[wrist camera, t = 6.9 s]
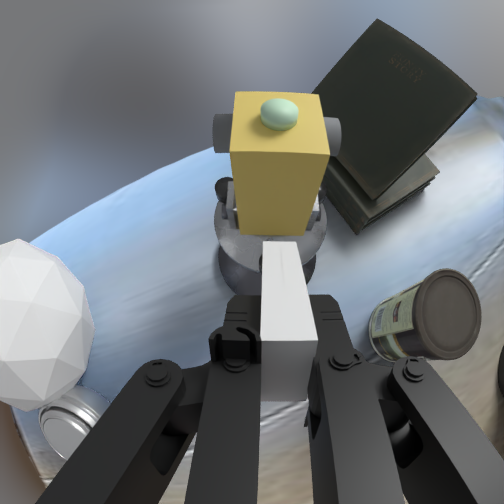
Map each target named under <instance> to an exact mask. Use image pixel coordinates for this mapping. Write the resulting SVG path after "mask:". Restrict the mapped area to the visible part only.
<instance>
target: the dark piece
mask: <svg viewBox="0 0 504 504" xmlns="http://www.w3.org/2000/svg"><path fill="white" fill-rule="evenodd" d="M311 94H318V95H319V99H320V104H321V108H322V113H323V117H330V118H338V119H339V121H340V125H341V146H340V150H339V153H338V155H337V156H330V157H329V160H328V163H327V167H326V170H325V173H324V176H323V179H322V182H324V183H325V185H326V187H327V193H326V196H327V198H328V199H329V200H330V201H331V203H332V204H333V205H334V206H335V208H336V209H337V210H338V212H339V213H340V214H341V216H342V217H343V218H344V219H345V221H346V222H347V223H348V225H349V226H350V227H351V229H352V230H353V232H354V233H355V234H356V235H358V234H359V232H360V231H361V230H363V229H364V228H366V227H367V226H369V225H371V224H372V223H374V222H375V221H377V220H378V219H380V218H381V217H383V216H384V215H386V214H387V213H389V212H390V211H392V210H393V209H395V208H396V207H398V206H399V205H401V204H402V203H404V202H405V201H407V200H408V199H410V198H411V197H412V196H414V195H415V194H417V193H418V192H420V191H421V190H423V189H424V188H426V187H427V186H428V185H430V184H431V183H430V182H431V181H432V180H434V179H435V178H436V177H435V175H437V174H438V173H440V171H439V170H438V169H437V168H436V166H435V165H434V164H433V163H432V162H431V161H430V159H429V158H428V157H427V156H426V155H425V153H426V152H427V151H428V150H429V149H430V148H431V147H432V146H433V145H434V144H435V143H436V142H437V141H438V140H439V139H440V138H441V137H442V136H443V135H444V134H445V133H446V132H447V130H448V129H449V128H450V127H451V126H452V125H453V124H454V123H455V122H456V121H457V120H458V119H459V118H460V117H461V116H462V115H463V114H464V113H465V112H466V110H467V109H468V108H469V107H470V106H471V105H472V104H473V103H474V102H475V101H476V100H477V97H476V95H477V93H476V92H475V91H474V90H473V89H472V88H471V87H470V86H469V85H468V84H467V83H465V82H464V81H463V80H462V79H461V78H460V77H459V76H458V75H456V74H455V73H454V72H453V71H452V70H451V69H449V68H448V67H447V66H446V65H444V64H443V63H442V62H441V61H440V60H438V59H437V58H436V57H434V56H433V55H432V54H430V53H429V52H428V51H426V50H425V49H424V48H422V47H421V46H420V45H418V44H417V43H415V42H414V41H412V40H411V39H409V38H408V37H406V36H405V35H403V34H402V33H400V32H399V31H397V30H395V29H394V28H392V27H391V26H389V25H387V24H386V23H384V22H382V21H381V20H379V19H376V20H375V21H374V22H373V23H372V24H371V25H370V26H369V28H368V29H367V30H366V31H365V32H364V33H363V34H362V35H361V36H360V38H359V39H358V40H357V41H356V42H355V43H354V44H353V45H352V46H351V48H350V49H349V50H348V51H347V52H346V53H345V54H344V56H343V57H342V58H341V59H340V60H339V61H338V62H337V64H336V65H335V66H334V67H333V68H332V69H331V71H330V72H329V73H328V74H327V75H326V77H325V78H324V79H323V80H322V81H321V82H320V84H319V85H318V86H317V87H316V88H315V90H314V91H313V92H312V93H311Z"/></svg>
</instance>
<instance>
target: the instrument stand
mask: <svg viewBox="0 0 504 504" xmlns="http://www.w3.org/2000/svg"><path fill="white" fill-rule="evenodd" d="M215 191H216V195H217V198H218V200H219V201H218V203H217V206H216V210H215V215H214V225H215V231H216V234H217V238H218V240H219V243H220V248H219V265H220V269H221V272H222V275H223V277H224V279H225V281H226V283H227V284H228V286H229V287H230V288H231V289H232V290H233V291H234V292H235V293H236V294H237V295H262V262H263V241H283V242H296V244H297V248H298V252H299V256H300V260H301V264H302V269H303V273H304V277H305V282H306V285H307V284H308V282H309V281H310V279H311V277H312V275H313V272H314V269H315V263H316V253H317V251H318V249H319V248H320V246H321V244H322V242H323V240H324V237H325V234H326V229H327V217H326V211H325V208H324V205H323V203H322V202H323V201H324V198H325V196H326V193H327V187H326V185H325V183H324V182H321V185H320V188H319V191H318V194H317V197H316V200H315V203H314V206H313V209H312V212H311V215H310V218H309V221H308V224H307V227H306V230H305V233H304V236H285V235H240V229H239V221H238V214H237V206H236V198H235V191H234V183H233V178H230V177H224V178H221V179H219V180H218V181H217V182H216V184H215Z"/></svg>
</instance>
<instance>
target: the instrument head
mask: <svg viewBox="0 0 504 504" xmlns="http://www.w3.org/2000/svg"><path fill="white" fill-rule="evenodd" d="M213 146H214V151H215V153H230V159H231V167H232V175H233V183H234V191H235V198H236V206H237V214H238V221H239V229H240V235H285V236H304V233H305V230H306V227H307V224H308V221H309V218H310V215H311V212H312V209H313V206H314V203H315V200H316V197H317V194H318V191H319V188H320V185H321V182H322V179H323V176H324V173H325V170H326V167H327V163H328V160H329V157H330V156H337V155H338V153H339V150H340V146H341V125H340V121H339V119H338V118H330V117H323V113H322V108H321V104H320V99H319V95H318V94H305V93H289V92H236V94H235V102H234V112H233V114H215V116H214V120H213Z"/></svg>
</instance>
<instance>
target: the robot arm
mask: <svg viewBox="0 0 504 504" xmlns="http://www.w3.org/2000/svg"><path fill="white" fill-rule="evenodd" d="M208 340H209V347H210V354H211V361H209V362H208V363H206V364H204V365H202V366H198V367H193V368H187V369H181V368H180V367H179V366H178V365H177V364H176V363H174V362H172V361H170V360H164V359H158V360H152V361H150V362H147V363H145V364H143V365H142V366H141V367H140V368H139V369H138V370H137V371H136V372H135V374H134V375H133V376H132V378H131V379H130V380H129V381H128V383H127V384H126V385H125V386H124V388H123V389H122V390H121V392H120V393H119V394H118V395H117V397H116V398H115V399H114V400H113V402H112V403H111V404H110V406H109V407H108V408H107V409H106V411H105V412H104V413H103V415H102V416H101V417H100V418H99V420H98V421H97V422H96V424H95V425H94V426H93V428H92V429H91V430H90V431H89V433H88V434H87V435H86V437H85V438H84V439H83V441H82V442H81V443H80V444H79V446H78V447H77V448H76V450H75V451H74V452H73V454H72V455H71V456H70V458H69V459H68V460H67V462H66V463H65V464H64V466H63V467H62V468H61V470H60V471H59V472H58V474H57V475H56V476H55V478H54V479H53V480H52V482H51V483H50V484H49V486H48V487H47V488H46V490H45V491H44V493H43V494H42V495H41V496H40V498H39V499H38V501H37V502H36V503H35V504H158V503H159V501H160V499H161V497H162V496H163V494H164V492H165V490H166V488H167V487H168V485H169V483H170V481H171V479H172V477H173V475H174V474H175V472H176V470H177V468H178V466H179V464H180V462H181V461H182V459H183V457H184V455H185V453H186V451H187V449H188V447H189V445H190V443H191V442H192V440H193V438H194V436H195V434H196V432H197V437H196V442H195V448H194V453H193V458H192V463H191V469H190V474H189V480H188V485H187V491H186V496H185V502H184V504H257V491H258V465H259V436H260V402H261V401H306V399H307V394H308V399H309V407H308V411H307V415H306V419H305V423H304V427H307V426H308V432H309V443H310V456H311V469H312V483H313V500H314V504H405V502H404V497H403V494H404V496H405V498H406V500H407V501H408V503H409V504H504V460H503V459H502V457H501V456H500V454H499V453H498V452H497V450H496V449H495V447H494V446H493V445H492V443H491V442H490V440H489V439H488V438H487V436H486V435H485V434H484V432H483V431H482V430H481V428H480V427H479V425H478V424H477V423H476V422H475V420H474V419H473V418H472V416H471V415H470V414H469V412H468V411H467V410H466V408H465V407H464V406H463V405H462V403H461V402H460V401H459V400H458V398H457V397H456V396H455V395H454V393H453V392H452V391H451V390H450V388H449V387H448V386H447V385H446V383H445V382H444V381H443V380H442V378H441V377H440V376H439V375H438V374H437V372H436V371H435V370H434V369H433V368H432V366H431V365H430V364H428V363H427V362H426V361H425V360H423V359H420V358H418V357H413V356H407V357H402V358H400V359H399V360H397V361H396V362H395V364H394V366H393V367H389V366H382V365H376V364H372V363H369V362H367V361H366V360H365V358H364V357H363V355H362V354H361V353H360V352H359V351H357V350H356V349H354V348H353V346H352V343H351V340H350V337H349V334H348V331H347V328H346V325H345V322H344V321H343V316H342V313H341V310H340V307H339V305H338V302H337V301H336V300H335V299H334V298H333V297H332V296H331V295H308V290H307V286H306V282H305V277H304V273H303V269H302V264H301V260H300V256H299V252H298V248H297V244H296V242H283V241H263V262H262V295H234V297H233V298H232V299H231V300H230V301H229V302H228V304H227V309H226V314H225V319H224V324H223V326H222V327H219V328H218V329H216V330H215V331H214V332H212V333H211V335H210V337H209V339H208ZM498 377H499V386H500V390H501V393H502V395H503V397H504V347H503V350H502V353H501V357H500V362H499V373H498Z"/></svg>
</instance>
